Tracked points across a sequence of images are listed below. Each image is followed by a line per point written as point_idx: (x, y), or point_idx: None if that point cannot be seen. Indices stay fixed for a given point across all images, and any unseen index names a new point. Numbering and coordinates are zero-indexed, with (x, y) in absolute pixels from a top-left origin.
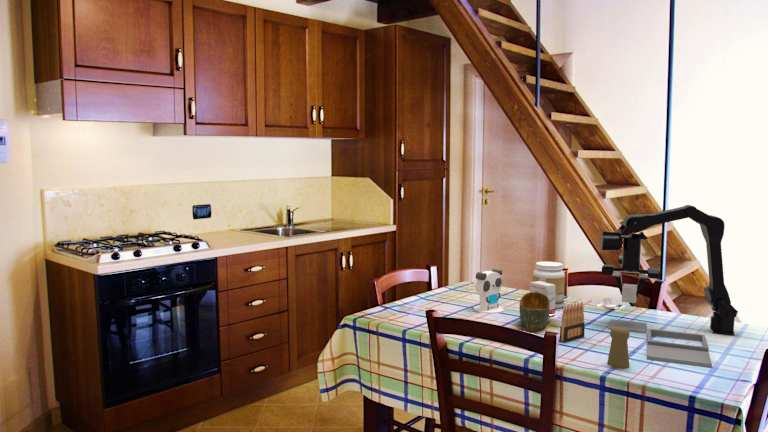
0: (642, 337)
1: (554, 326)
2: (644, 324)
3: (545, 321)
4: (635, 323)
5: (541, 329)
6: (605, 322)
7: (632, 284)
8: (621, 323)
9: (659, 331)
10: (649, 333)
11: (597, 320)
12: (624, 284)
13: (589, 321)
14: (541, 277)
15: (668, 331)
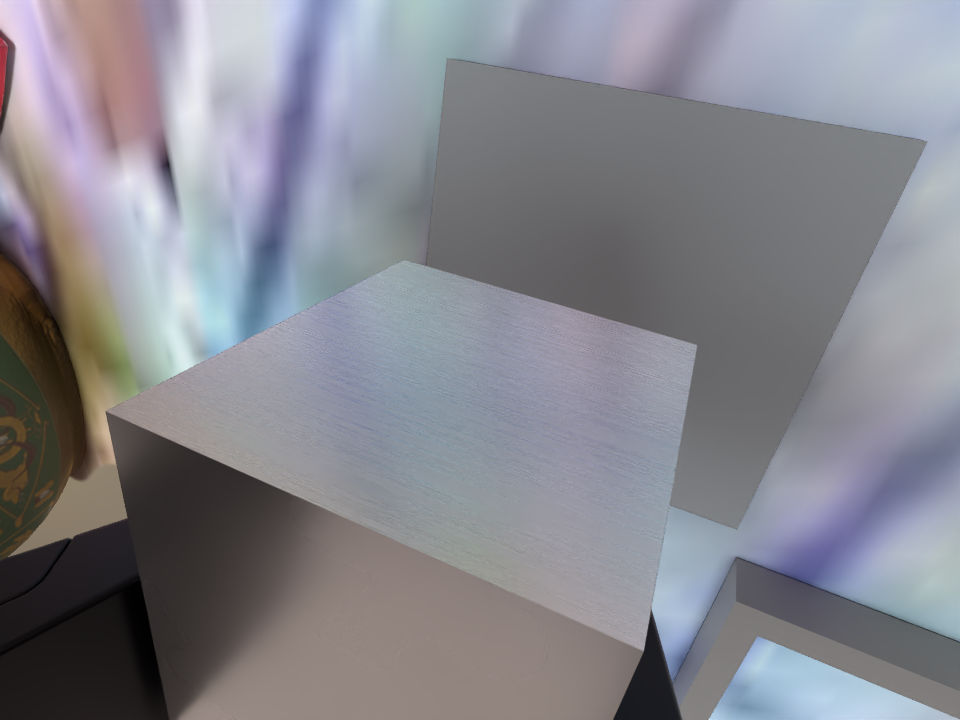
0: (656, 619)
1: (110, 373)
2: (845, 250)
3: (45, 478)
4: (724, 220)
5: (82, 451)
6: (401, 179)
7: (425, 575)
8: (545, 254)
9: (843, 665)
10: (692, 716)
11: (329, 112)
12: (166, 552)
13: (269, 178)
14: None
15: (951, 708)
